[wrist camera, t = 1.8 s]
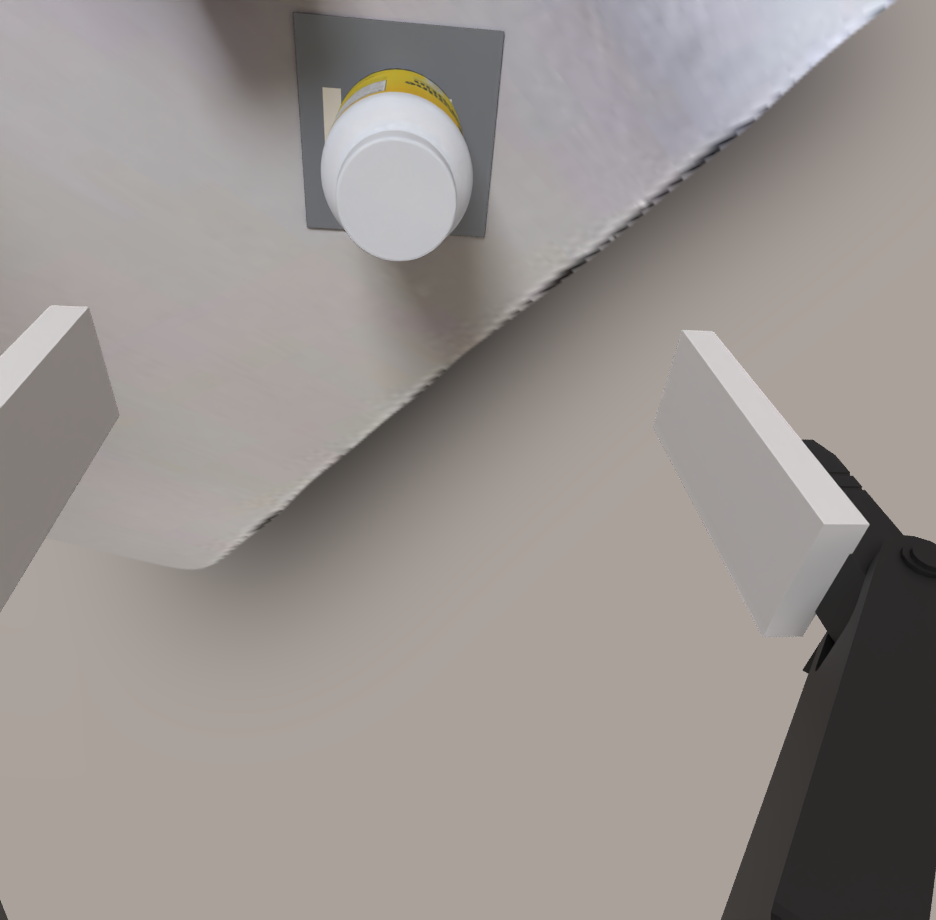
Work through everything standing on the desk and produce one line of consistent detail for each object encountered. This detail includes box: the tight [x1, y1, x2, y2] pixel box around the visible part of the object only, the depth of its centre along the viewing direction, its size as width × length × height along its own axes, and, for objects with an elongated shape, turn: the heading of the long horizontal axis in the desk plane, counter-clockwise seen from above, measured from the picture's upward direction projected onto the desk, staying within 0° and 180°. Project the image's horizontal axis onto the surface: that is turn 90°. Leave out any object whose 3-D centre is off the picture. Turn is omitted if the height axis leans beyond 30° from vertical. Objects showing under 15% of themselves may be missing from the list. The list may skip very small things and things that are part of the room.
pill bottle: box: [321, 68, 473, 261], centre depth 30 cm, size 6×6×12 cm
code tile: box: [293, 12, 504, 237], centre depth 35 cm, size 10×10×1 cm
